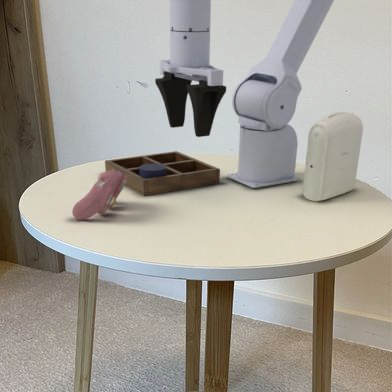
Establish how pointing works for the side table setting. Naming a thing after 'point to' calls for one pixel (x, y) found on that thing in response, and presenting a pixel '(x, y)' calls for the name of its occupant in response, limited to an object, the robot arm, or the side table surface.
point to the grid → (175, 167)
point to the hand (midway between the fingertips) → (189, 131)
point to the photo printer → (332, 156)
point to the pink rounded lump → (100, 195)
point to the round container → (152, 170)
